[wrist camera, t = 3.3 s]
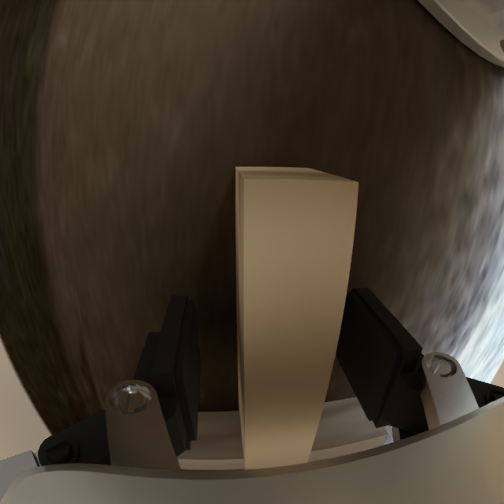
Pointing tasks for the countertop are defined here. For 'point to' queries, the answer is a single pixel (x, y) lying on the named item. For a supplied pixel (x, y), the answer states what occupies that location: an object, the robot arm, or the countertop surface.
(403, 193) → the countertop surface
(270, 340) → the dough scraper
